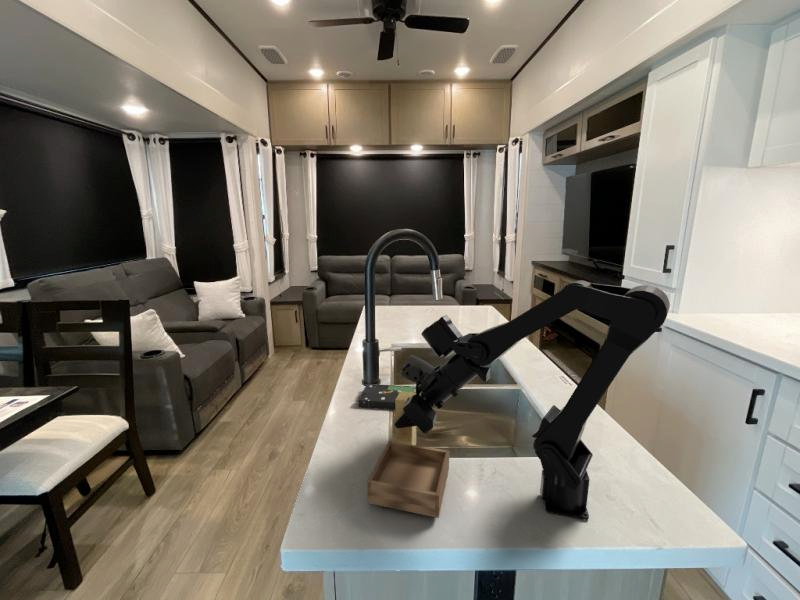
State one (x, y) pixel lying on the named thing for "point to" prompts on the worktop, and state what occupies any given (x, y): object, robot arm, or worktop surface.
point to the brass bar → (402, 434)
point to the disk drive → (381, 396)
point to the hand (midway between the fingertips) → (399, 418)
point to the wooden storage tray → (409, 478)
